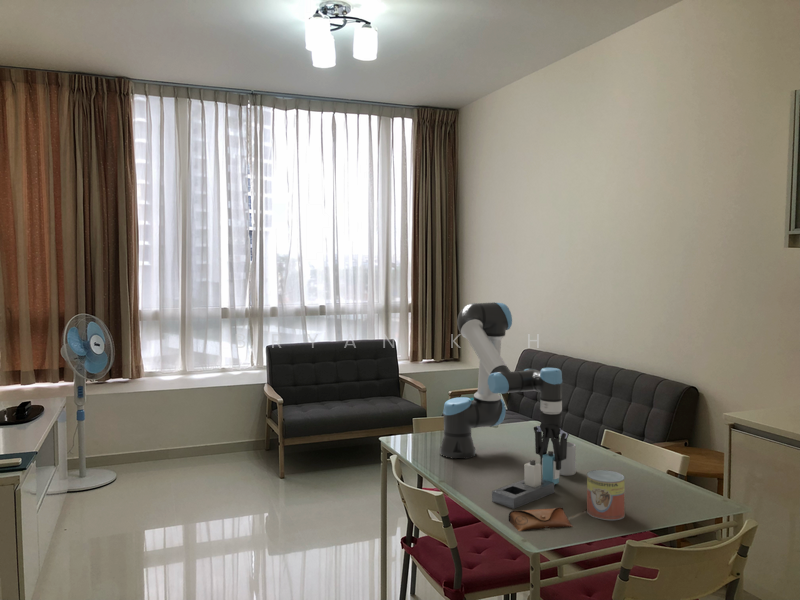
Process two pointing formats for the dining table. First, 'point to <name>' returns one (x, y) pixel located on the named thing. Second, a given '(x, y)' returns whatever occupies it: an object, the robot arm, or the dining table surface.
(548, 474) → the plug
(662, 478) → the dining table surface
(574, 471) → the mug
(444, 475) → the dining table surface
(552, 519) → the sunglasses case
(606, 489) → the canned food
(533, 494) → the strip
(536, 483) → the white knobbed block
